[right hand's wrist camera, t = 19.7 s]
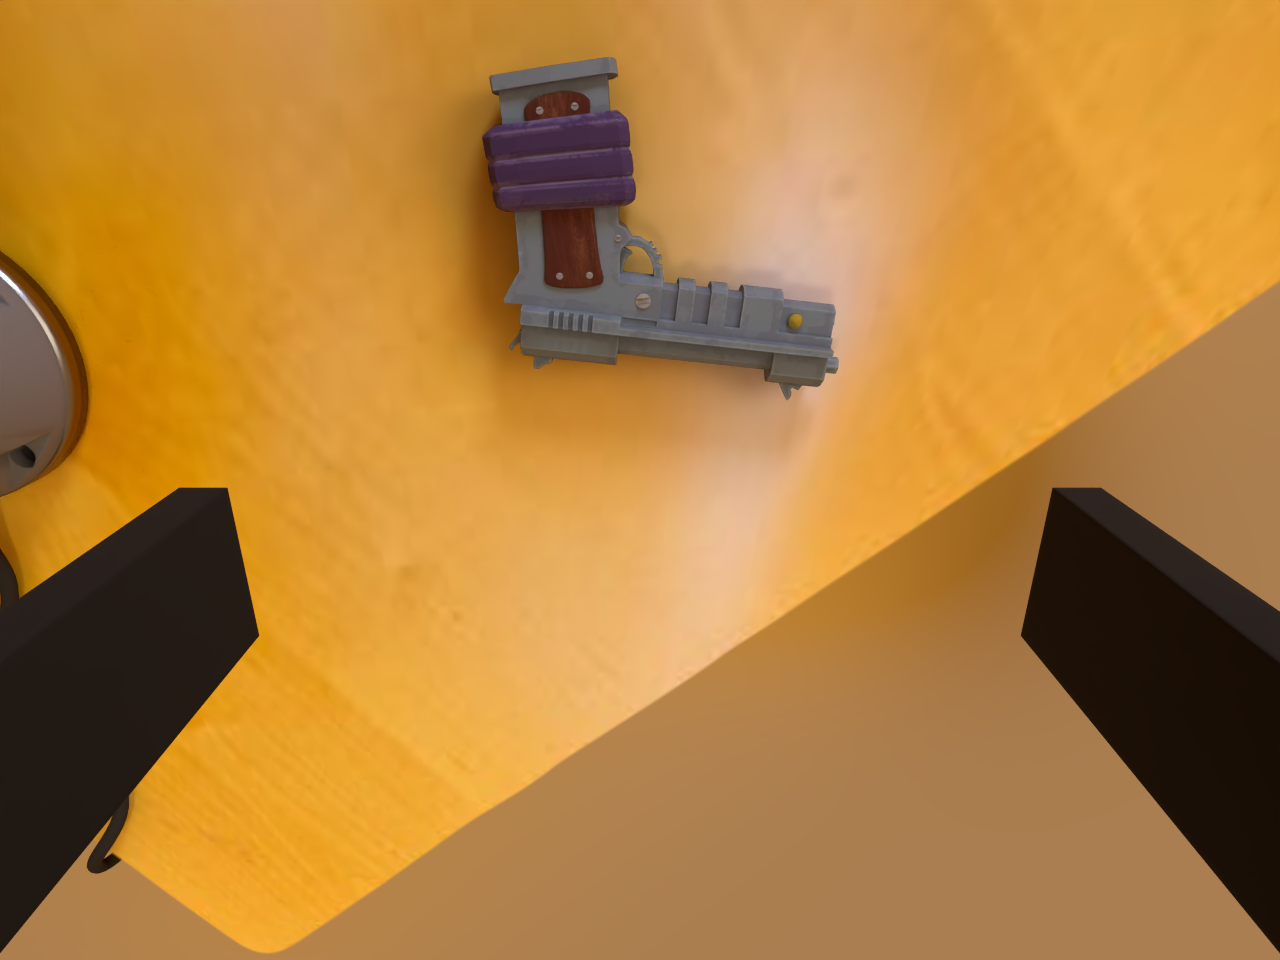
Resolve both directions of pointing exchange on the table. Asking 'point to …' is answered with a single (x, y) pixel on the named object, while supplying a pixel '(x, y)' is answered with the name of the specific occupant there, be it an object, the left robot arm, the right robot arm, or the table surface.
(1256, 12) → the table surface
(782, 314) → the toy gun
